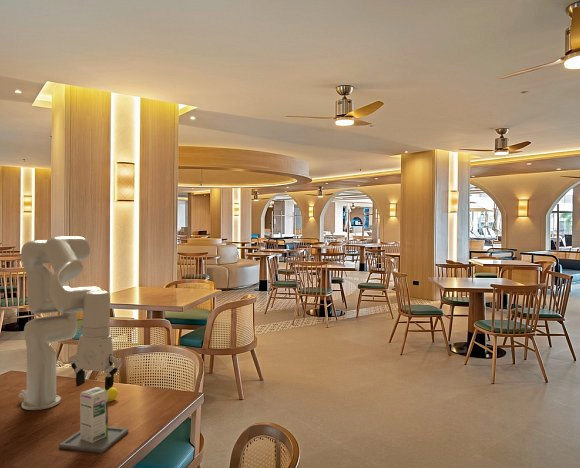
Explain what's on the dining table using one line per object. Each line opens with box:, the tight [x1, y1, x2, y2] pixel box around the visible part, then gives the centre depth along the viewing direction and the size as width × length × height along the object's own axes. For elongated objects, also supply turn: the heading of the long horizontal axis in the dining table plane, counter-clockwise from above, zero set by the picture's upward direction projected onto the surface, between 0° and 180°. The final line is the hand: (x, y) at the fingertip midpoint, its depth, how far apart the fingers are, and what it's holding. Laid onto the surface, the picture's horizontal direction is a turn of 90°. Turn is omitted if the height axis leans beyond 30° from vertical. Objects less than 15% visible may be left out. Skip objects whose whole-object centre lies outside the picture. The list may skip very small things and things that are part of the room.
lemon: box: [104, 386, 119, 403], centre depth 169 cm, size 7×5×5 cm
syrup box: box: [79, 386, 109, 443], centre depth 138 cm, size 6×6×14 cm
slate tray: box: [58, 425, 129, 454], centre depth 138 cm, size 14×14×1 cm
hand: (94, 386), depth 139 cm, fingers open, 9 cm apart
